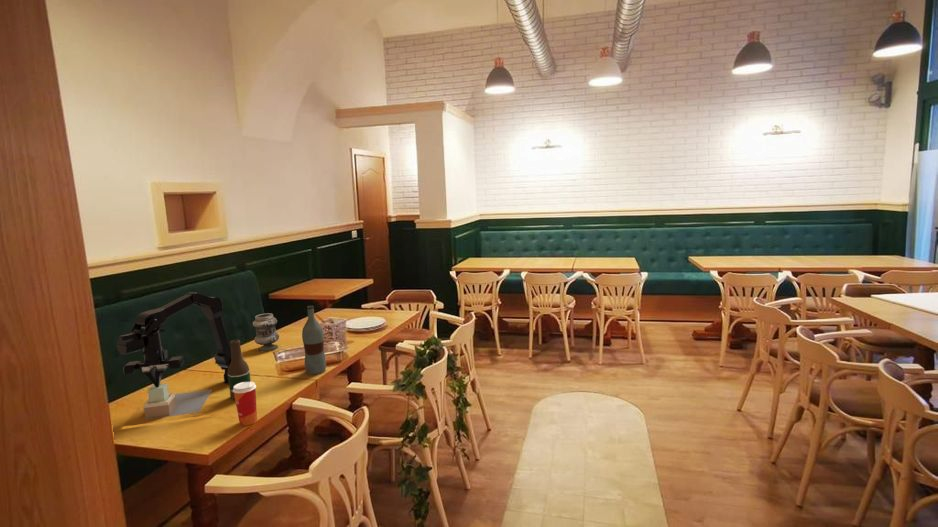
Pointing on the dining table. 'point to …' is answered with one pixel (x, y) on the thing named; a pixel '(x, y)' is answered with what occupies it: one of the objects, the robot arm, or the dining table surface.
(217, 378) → the dining table surface
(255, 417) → the paper cup
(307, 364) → the vodka
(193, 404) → the board
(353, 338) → the dining table surface
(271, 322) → the apothecary jar
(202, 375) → the dining table surface
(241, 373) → the beer bottle
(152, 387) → the green block
